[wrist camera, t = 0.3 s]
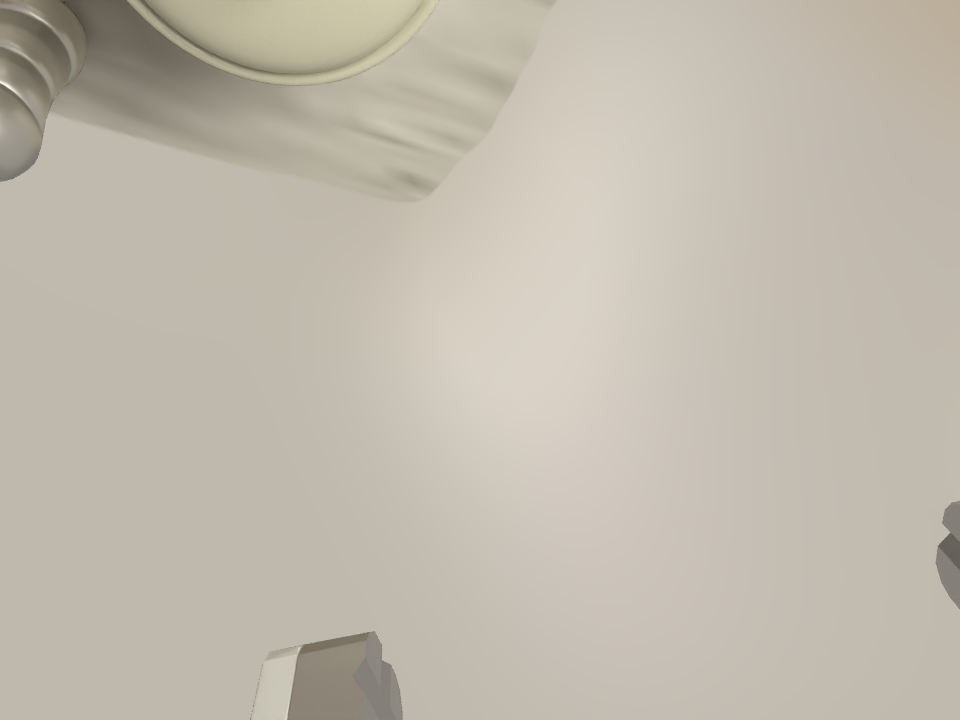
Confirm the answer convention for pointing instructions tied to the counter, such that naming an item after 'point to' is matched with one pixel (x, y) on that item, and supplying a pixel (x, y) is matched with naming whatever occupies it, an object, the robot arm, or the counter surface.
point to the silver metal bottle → (33, 74)
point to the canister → (288, 34)
